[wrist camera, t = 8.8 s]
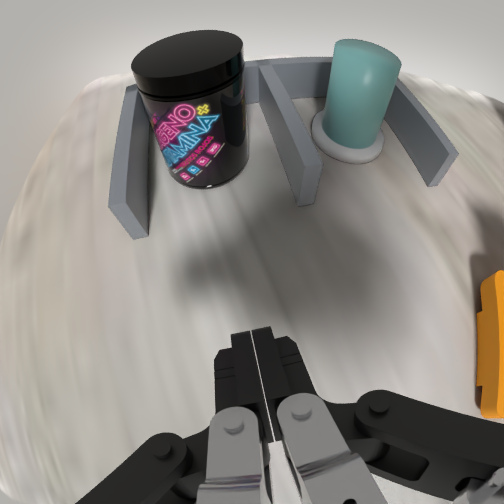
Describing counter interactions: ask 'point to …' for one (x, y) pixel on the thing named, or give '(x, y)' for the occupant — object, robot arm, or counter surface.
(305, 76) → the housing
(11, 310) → the counter surface
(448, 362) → the counter surface
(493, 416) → the bracket
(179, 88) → the supplement container
